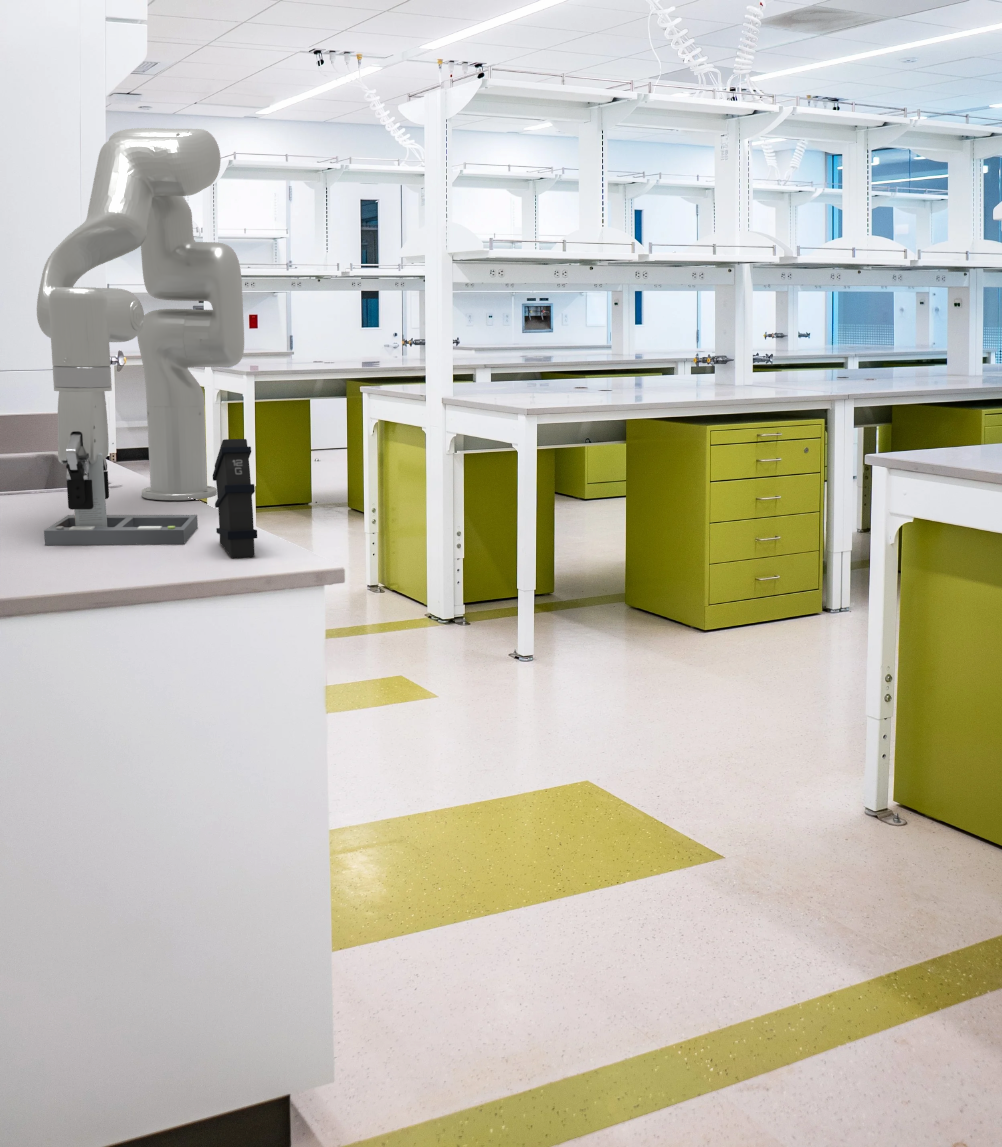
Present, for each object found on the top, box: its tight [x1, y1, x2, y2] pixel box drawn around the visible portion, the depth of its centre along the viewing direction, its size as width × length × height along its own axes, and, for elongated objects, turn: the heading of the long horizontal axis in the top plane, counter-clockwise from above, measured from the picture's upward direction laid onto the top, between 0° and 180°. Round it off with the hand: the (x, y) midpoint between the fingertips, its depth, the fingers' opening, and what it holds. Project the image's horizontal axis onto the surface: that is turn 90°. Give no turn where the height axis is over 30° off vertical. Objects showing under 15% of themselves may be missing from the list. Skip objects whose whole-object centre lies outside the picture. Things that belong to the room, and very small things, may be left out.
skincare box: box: [73, 453, 108, 527], centre depth 166 cm, size 6×4×12 cm
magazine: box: [212, 438, 258, 559], centre depth 158 cm, size 4×13×15 cm, turn 21°
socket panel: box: [43, 514, 199, 546], centre depth 168 cm, size 13×18×2 cm
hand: (89, 503), depth 166 cm, fingers open, 9 cm apart
